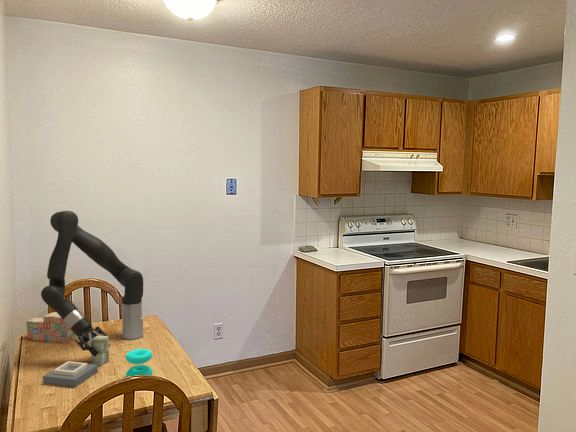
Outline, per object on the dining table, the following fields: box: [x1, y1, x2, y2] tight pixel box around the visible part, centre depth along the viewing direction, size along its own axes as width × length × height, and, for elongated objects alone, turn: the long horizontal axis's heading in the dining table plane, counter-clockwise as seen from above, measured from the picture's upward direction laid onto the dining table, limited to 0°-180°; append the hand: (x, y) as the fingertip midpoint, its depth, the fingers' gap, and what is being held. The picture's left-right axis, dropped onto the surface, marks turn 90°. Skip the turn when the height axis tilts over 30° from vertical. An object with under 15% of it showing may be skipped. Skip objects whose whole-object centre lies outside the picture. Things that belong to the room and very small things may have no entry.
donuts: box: [125, 348, 154, 378], centre depth 188 cm, size 10×10×10 cm
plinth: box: [42, 361, 99, 388], centre depth 187 cm, size 14×14×4 cm
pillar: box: [90, 335, 110, 367], centre depth 201 cm, size 5×5×11 cm
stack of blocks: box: [26, 312, 76, 344], centre depth 229 cm, size 21×6×12 cm, turn 80°
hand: (102, 351), depth 201 cm, fingers open, 8 cm apart
